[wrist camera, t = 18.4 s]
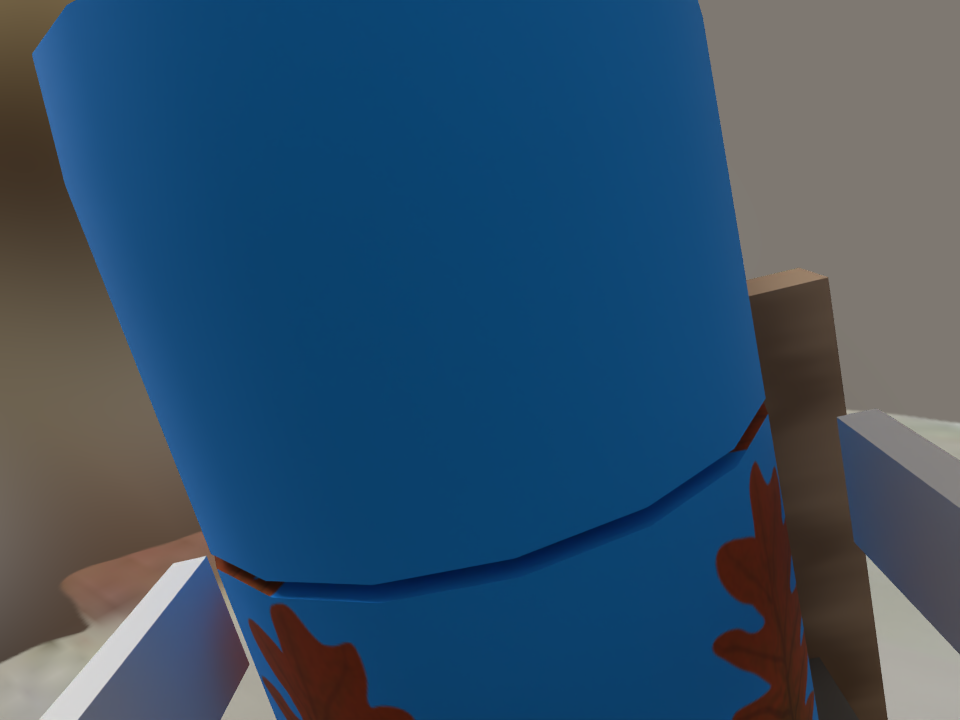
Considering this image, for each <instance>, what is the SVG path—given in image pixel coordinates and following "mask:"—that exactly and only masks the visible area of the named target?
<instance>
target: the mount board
mask: <svg viewBox="0 0 960 720" xmlns="http://www.w3.org/2000/svg"><path fill="white" fill-rule="evenodd" d="M746 283H747V289H748V295H749V301H750V307H751V313H752V319H753V325H754V331H755V337H756V343H757V349H758V355H759V361H760V367H761V373H762V380H763V386H764V392H765V398H766V399H765V400H764V404H765V406H766V409H767V412H768V416H769V422H770V428H771V434H772V440H773V446H774V452H775V458H776V464H777V470H778V476H779V482H780V489H781V495H782V501H783V507H784V513H785V519H786V525H787V531H788V537H789V543H790V549H791V555H792V561H793V567H794V573H795V579H796V585H797V591H798V598H799V604H800V610H801V616H802V622H803V628H804V634H805V640H806V646H807V652H808V658H809V664H810V670H811V676H812V682H813V688H814V694H815V701H816V707H817V713H818V719H819V720H888V718H887V711H886V703H885V696H884V689H883V681H882V674H881V666H880V659H879V652H878V644H877V637H876V629H875V622H874V614H873V607H872V600H871V592H870V585H869V577H868V570H867V562H866V555H865V553H864V552H863V551H862V550H861V549H860V548H859V547H858V545H857V544H856V543H855V542H854V538H853V531H852V523H851V516H850V509H849V502H848V495H847V488H846V481H845V473H844V466H843V459H842V452H841V445H840V438H839V430H838V423H837V417H839V416H843V415H847V414H846V407H845V399H844V392H843V385H842V378H841V370H840V362H839V355H838V348H837V340H836V333H835V326H834V318H833V310H832V303H831V295H830V288H829V282H828V277H825V276H822V275H819V274H816V273H813V272H810V271H807V270H804V269H801V268H796V269H791V270H787V271H783V272H779V273H775V274H771V275H767V276H763V277H758V278H754V279H750V280H746Z"/></svg>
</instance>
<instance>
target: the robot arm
mask: <svg viewBox="0 0 960 720" xmlns="http://www.w3.org/2000/svg"><path fill="white" fill-rule="evenodd" d="M837 423H838V430H839V438H840V445H841V452H842V459H843V466H844V473H845V481H846V488H847V495H848V502H849V509H850V516H851V523H852V531H853V538H854V542H855V543H856V544H857V545H858V547H859V548H860V549H861V550H862V551H863V552H864V553H865V554H866V555H867V556H868V557H869V558H870V559H871V560H872V561H873V563H874V564H875V565H876V566H877V567H878V568H879V569H880V570H881V571H882V572H883V573H884V574H885V575H886V576H887V577H888V578H889V580H890V581H891V582H892V583H893V584H894V585H895V586H896V587H897V588H898V589H899V590H900V591H901V592H902V593H903V594H904V595H905V597H906V598H907V599H908V600H909V601H910V602H911V603H912V604H913V605H914V606H915V607H916V608H917V609H918V610H919V611H920V612H921V614H922V615H923V616H924V617H925V618H926V619H927V620H928V621H929V622H930V623H931V624H932V625H933V626H934V627H935V628H936V629H937V631H938V632H939V633H940V634H941V635H942V636H943V637H944V638H945V639H946V640H947V641H948V642H949V643H950V644H951V645H952V646H953V648H954V649H955V650H956V651H957V652H958V653H959V654H960V460H958V459H957V458H955V457H954V456H952V455H950V454H949V453H947V452H946V451H944V450H943V449H941V448H939V447H938V446H936V445H935V444H933V443H932V442H930V441H928V440H927V439H925V438H924V437H922V436H921V435H919V434H917V433H916V432H914V431H913V430H911V429H909V428H908V427H906V426H905V425H903V424H902V423H900V422H898V421H897V420H895V419H894V418H892V417H891V416H889V415H887V414H886V413H884V412H883V411H881V410H880V409H878V408H875V409H871V410H866V411H862V412H857V413H853V414H848V415H843V416H839V417H837ZM248 666H249V662H248V659H247V657H246V654H245V652H244V649H243V647H242V644H241V642H240V639H239V637H238V634H237V632H236V629H235V627H234V624H233V622H232V619H231V617H230V614H229V611H228V609H227V606H226V604H225V601H224V599H223V596H222V594H221V591H220V589H219V586H218V584H217V581H216V579H215V576H214V574H213V571H212V569H211V566H210V564H209V561H208V559H207V556H205V557H201V558H196V559H191V560H187V561H182V562H178V563H173V564H172V566H171V567H170V568H169V569H168V570H167V571H166V573H165V574H164V575H163V576H162V577H161V578H160V580H159V581H158V582H157V583H156V584H155V585H154V587H153V588H152V589H151V590H150V591H149V592H148V594H147V595H146V596H145V597H144V598H143V599H142V601H141V602H140V603H139V604H138V605H137V606H136V608H135V609H134V610H133V611H132V612H131V613H130V615H129V616H128V617H127V618H126V619H125V620H124V621H123V623H122V624H121V625H120V626H119V627H118V628H117V630H116V631H115V632H114V633H113V634H112V635H111V637H110V638H109V639H108V640H107V641H106V642H105V644H104V645H103V646H102V647H101V648H100V649H99V651H98V652H97V653H96V654H95V655H94V656H93V658H92V659H91V660H90V661H89V662H88V663H87V665H86V666H85V667H84V668H83V669H82V670H81V672H80V673H79V674H78V675H77V676H76V677H75V679H74V680H73V681H72V682H71V683H70V684H69V686H68V687H67V688H66V689H65V690H64V691H63V693H62V694H61V695H60V696H59V697H58V698H57V700H56V701H55V702H54V703H53V704H52V705H51V707H50V708H49V709H48V710H47V711H46V712H45V714H44V715H43V716H42V717H41V718H40V719H39V720H220V719H221V718H222V716H223V714H224V712H225V710H226V708H227V706H228V704H229V702H230V700H231V699H232V697H233V695H234V693H235V691H236V689H237V687H238V685H239V683H240V681H241V680H242V678H243V676H244V674H245V672H246V670H247V668H248Z"/></svg>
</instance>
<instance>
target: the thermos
mask: <svg viewBox="0 0 960 720" xmlns="http://www.w3.org/2000/svg"><path fill="white" fill-rule="evenodd" d="M32 56H33V60H34V64H35V68H36V72H37V76H38V79H39V84H40V87H41V91H42V95H43V99H44V103H45V107H46V111H47V115H48V119H49V123H50V126H51V130H52V134H53V139H54V142H55V146H56V150H57V154H58V158H59V162H60V166H61V170H62V173H63V178H64V182H65V185H66V188H67V191H68V193H69V196H70V198H71V201H72V203H73V206H74V208H75V211H76V213H77V216H78V218H79V221H80V223H81V226H82V228H83V231H84V233H85V236H86V239H87V241H88V244H89V246H90V249H91V251H92V253H93V256H94V259H95V261H96V264H97V266H98V269H99V271H100V274H101V276H102V279H103V282H104V284H105V287H106V289H107V292H108V294H109V297H110V299H111V302H112V304H113V307H114V309H115V312H116V314H117V317H118V320H119V322H120V324H121V327H122V330H123V332H124V335H125V337H126V340H127V342H128V345H129V347H130V350H131V352H132V355H133V357H134V360H135V362H136V365H137V367H138V370H139V373H140V375H141V378H142V380H143V383H144V385H145V388H146V390H147V393H148V395H149V398H150V400H151V402H152V405H153V408H154V410H155V413H156V416H157V418H158V421H159V423H160V426H161V428H162V431H163V433H164V436H165V438H166V441H167V443H168V446H169V448H170V451H171V453H172V456H173V458H174V461H175V464H176V466H177V469H178V471H179V474H180V476H181V479H182V481H183V484H184V486H185V489H186V491H187V494H188V496H189V499H190V502H191V504H192V506H193V509H194V512H195V514H196V517H197V519H198V522H199V524H200V527H201V529H202V532H203V534H204V537H205V540H206V542H207V545H208V547H209V550H210V552H211V554H212V555H214V556H215V561H216V566H217V570H218V572H219V575H220V577H221V580H222V582H223V585H224V588H225V590H226V593H227V595H228V598H229V600H230V603H231V605H232V608H233V610H234V613H235V615H236V618H237V620H238V623H239V625H240V628H241V631H242V633H243V636H244V638H245V641H246V643H247V646H248V648H249V651H250V653H251V656H252V658H253V661H254V663H255V666H256V668H257V671H258V674H259V676H260V679H261V681H262V684H263V686H264V689H265V691H266V694H267V696H268V699H269V701H270V704H271V706H272V709H273V711H274V714H275V717H276V719H277V720H819V719H818V713H817V707H816V701H815V694H814V688H813V682H812V676H811V670H810V664H809V658H808V652H807V646H806V640H805V634H804V628H803V622H802V616H801V610H800V604H799V598H798V591H797V585H796V579H795V573H794V567H793V561H792V555H791V549H790V543H789V537H788V531H787V525H786V519H785V513H784V507H783V501H782V495H781V489H780V482H779V476H778V470H777V464H776V458H775V452H774V446H773V440H772V434H771V428H770V422H769V416H768V412H767V409H766V406H765V404H764V400H765V399H766V398H765V392H764V386H763V380H762V373H761V367H760V361H759V355H758V349H757V343H756V337H755V331H754V325H753V319H752V313H751V307H750V301H749V295H748V289H747V283H746V277H745V271H744V265H743V258H742V252H741V247H740V240H739V234H738V228H737V223H736V217H735V210H734V205H733V198H732V192H731V186H730V180H729V174H728V168H727V162H726V156H725V149H724V143H723V137H722V131H721V125H720V119H719V114H718V107H717V101H716V95H715V89H714V83H713V77H712V71H711V65H710V59H709V53H708V47H707V40H706V35H705V29H704V22H703V17H702V13H701V10H700V6H699V3H698V0H75V1H73V2H72V3H70V4H68V5H67V6H66V7H65V8H64V10H63V11H62V13H61V14H60V15H59V17H58V18H57V20H56V21H55V22H54V24H53V25H52V27H51V28H50V30H49V31H48V32H47V34H46V35H45V37H44V38H43V39H42V41H41V42H40V44H39V45H38V46H37V48H36V49H35V51H34V52H33V53H32Z"/></svg>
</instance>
